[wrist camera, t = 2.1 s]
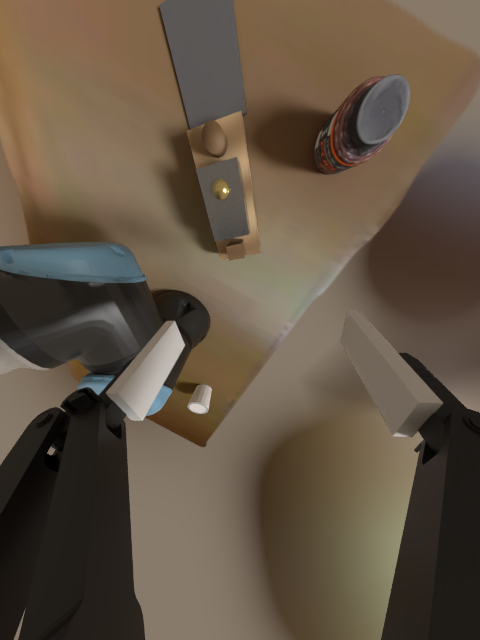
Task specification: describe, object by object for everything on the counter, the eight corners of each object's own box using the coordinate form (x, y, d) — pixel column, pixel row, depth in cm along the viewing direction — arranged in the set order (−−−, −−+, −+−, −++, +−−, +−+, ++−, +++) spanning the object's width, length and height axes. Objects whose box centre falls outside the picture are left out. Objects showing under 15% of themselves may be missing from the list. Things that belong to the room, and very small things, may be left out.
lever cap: (220, 237, 27) (213, 242, 24) (205, 174, 23) (194, 168, 20) (250, 230, 26) (248, 235, 23) (240, 163, 22) (236, 155, 19)
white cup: (192, 390, 61) (185, 410, 56) (197, 380, 57) (190, 400, 52) (210, 396, 62) (204, 416, 56) (216, 387, 58) (210, 407, 53)
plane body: (260, 247, 32) (259, 258, 25) (224, 254, 33) (215, 266, 27) (244, 125, 23) (237, 94, 17) (197, 142, 25) (174, 118, 18)
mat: (192, 133, 24) (191, 132, 24) (160, 8, 19) (159, 5, 19) (246, 113, 23) (246, 112, 22) (229, -29, 17) (228, -34, 17)
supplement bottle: (303, 156, 24) (329, 126, 15) (338, 102, 21) (397, 22, 12) (331, 185, 26) (371, 173, 17) (368, 138, 23) (442, 92, 13)
